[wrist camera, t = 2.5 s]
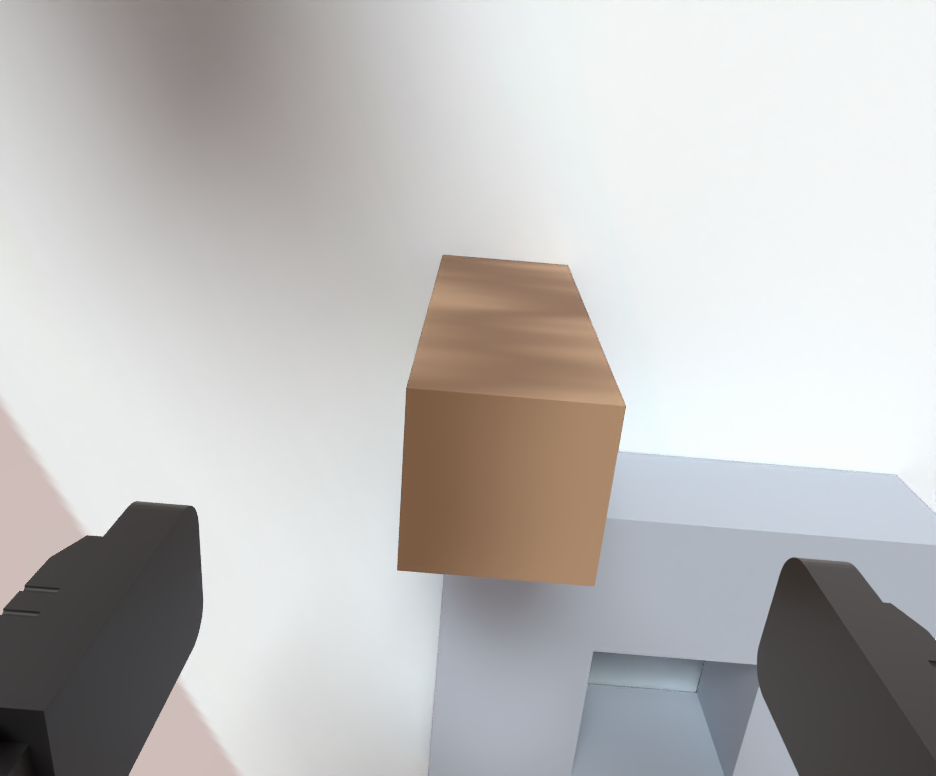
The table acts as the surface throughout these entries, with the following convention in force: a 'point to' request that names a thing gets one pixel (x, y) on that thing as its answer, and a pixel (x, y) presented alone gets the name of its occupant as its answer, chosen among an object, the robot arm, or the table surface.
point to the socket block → (664, 621)
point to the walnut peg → (508, 428)
